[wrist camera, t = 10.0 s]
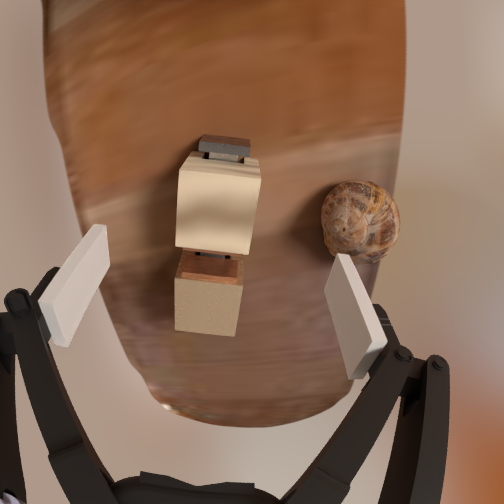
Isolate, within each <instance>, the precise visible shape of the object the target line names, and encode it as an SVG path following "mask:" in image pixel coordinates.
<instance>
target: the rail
mask: <svg viewBox="0 0 504 504" xmlns="http://www.w3.org/2000/svg"><path fill="white" fill-rule="evenodd" d="M198 151H203V152H210V153H209V160H217V161H226V162H234V163H238V156H246V157H249V153H250V140H248V139H241V138H233V137H224V136H215V135H205V134H204V135H203V137H202V138H201V140H200V141H199V150H198ZM242 290H243V254H241V257H240V256H231V255H230V259H225V255H222V254H214V253H205V252H200V256H197V255H196V251H188V250H183V252H182V255H181V259H180V262H179V265H178V269H177V272H176V276H175V330H180V331H188V332H196V333H205V334H214V335H223V336H234V337H235V331H236V325H237V319H238V313H239V307H240V301H241V296H242Z"/></svg>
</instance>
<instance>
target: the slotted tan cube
mask: <svg viewBox="0 0 504 504" xmlns="http://www.w3.org/2000/svg"><path fill="white" fill-rule="evenodd" d="M204 158H205V152H198V151H192V152H191V153H190V155H189V156H188V157H187V159H186V160H185V162H184V163H183V165H182V166H181V168H180V169H179V181H178V197H177V217H176V243H175V246H177V247H183V250H188V251H196V252H205V253H214V254H222V255H231V256H240V257H241V254H246V255H248V254H249V248H250V242H251V236H252V230H253V225H254V219H255V213H256V207H257V201H258V196H259V190H260V184H261V175H260V169H259V163H258V159H256V158H249V157H244V163H243V164H242V163H234V162H226V161H217V160H208V159H204Z"/></svg>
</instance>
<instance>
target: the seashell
mask: <svg viewBox="0 0 504 504" xmlns="http://www.w3.org/2000/svg"><path fill="white" fill-rule="evenodd" d="M321 225H322V227H323V230H324V233H323V234H324V239H325V245H326V246H327V248H328V250H329V252H330V253H331V254H332V255H333V256H335V257H336V255H337V253H339V254H347V255H349V256H350V258H351V260H352V262H353V264H354V265H366V264H371V263H374V262H376V261H378V260H380V259H382V258H383V257H384V256H386V255H387V254H388V253H389V251H390V250H391V249H392V248H393V246H394V244H395V243H396V240H397V237H398V234H399V230H400V217H399V212H398V208H397V205H396V203H395V201H394V199H393V198H392V196H391V195H390V194H389V193H388V192H387V191H386V190H384V189H383V188H381V187H379V186H378V185H376V184H375V183H372V182H366V181H361V180H349V181H345V182H343V183H341V184H339V185H337V186H336V187H335V188H334V189H333V190H331V191H330V192H329V194H328V195H327V197H326V198H325V200H324V202H323V205H322V210H321Z"/></svg>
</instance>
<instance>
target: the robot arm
mask: <svg viewBox="0 0 504 504" xmlns="http://www.w3.org/2000/svg"><path fill="white" fill-rule="evenodd" d="M109 267H110V259H109V251H108V241H107V231H106V225H99V224H94V225H93V226H92V227H91V229H90V230H89V231H88V232H87V234H86V235H85V236H84V237H83V239H82V240H81V241H80V243H79V244H78V245H77V247H76V248H75V249H74V250H73V252H72V253H71V254H70V256H69V257H68V258H67V260H66V261H65V263H64V264H63V265H62V267H61V268H59V267H54V268H52V269H51V270H49V271H48V272H47V273H46V275H45V276H44V277H43V278H42V280H41V281H40V283H39V285H37V287H36V288H35V290H34V291H33V293H32V294H31V295H29V293H28V291H27V290H25V289H22V288H18V289H14V290H12V291H10V292H9V293H8V294H7V295H6V297H5V298H4V304H5V306H6V309H7V311H8V312H2V313H0V504H27V501H26V489H25V482H24V477H23V471H22V465H21V458H20V452H19V443H18V434H17V423H16V406H15V354H17V355H18V360H19V364H20V368H21V372H22V376H23V379H24V383H25V386H26V390H27V393H28V396H29V399H30V402H31V405H32V409H33V411H34V414H35V417H36V420H37V423H38V426H39V428H40V431H41V433H42V436H43V438H44V441H45V443H46V446H47V448H48V451H49V455H48V458H49V461H50V464H51V466H52V469H53V471H54V473H55V475H56V477H57V479H58V481H59V483H60V485H61V487H62V489H63V491H64V493H65V495H66V497H67V498H68V500H69V502H70V504H341V503H342V501H343V500H344V498H345V497H346V495H347V494H348V492H349V490H350V483H351V481H352V480H353V478H354V477H355V475H356V474H357V472H358V470H359V469H360V467H361V465H362V464H363V462H364V461H365V459H366V457H367V455H368V454H369V452H370V450H371V448H372V447H373V445H374V443H375V441H376V440H377V437H378V436H379V434H380V432H381V430H382V428H383V427H384V425H385V423H386V421H387V419H388V417H389V414H390V413H391V411H392V409H393V407H394V405H395V402H396V401H397V399H398V396H401V402H400V409H399V415H398V420H397V426H396V431H395V436H394V442H393V446H392V451H391V456H390V460H389V464H388V468H387V472H386V476H385V480H384V484H383V487H382V491H381V494H380V498H379V501H378V504H440V500H441V494H442V487H443V480H444V474H445V465H446V455H447V446H448V432H449V409H450V403H449V402H450V378H449V377H450V375H449V365H448V363H447V362H446V360H445V359H444V358H442V357H441V356H439V355H431V356H430V357H429V358H428V359H427V360H426V361H425V360H421V359H418V358H414V357H413V354H412V353H411V351H410V350H409V349H407V348H406V347H404V346H402V345H400V343H399V341H398V338H397V336H396V334H395V332H394V329H393V327H392V326H391V323H390V320H388V316H387V314H386V312H385V310H384V309H383V308H382V307H381V306H380V305H379V304H372V303H371V301H370V299H369V296H368V294H367V292H366V290H365V288H364V285H363V283H362V281H361V279H360V277H359V275H358V272H357V270H356V268H355V266H354V264H353V262H352V260H351V258H350V256H349V255H347V254H339V253H337V255H336V258H335V260H334V263H333V266H332V269H331V272H330V275H329V277H328V280H327V283H326V286H325V288H324V293H325V297H326V300H327V303H328V307H329V310H330V313H331V317H332V320H333V324H334V327H335V331H336V334H337V338H338V341H339V345H340V349H341V352H342V356H343V360H344V363H345V367H346V371H347V375H348V379H363V378H364V377H365V375H366V373H367V372H368V373H369V376H370V379H369V380H368V382H367V383H366V385H365V386H364V387H363V389H362V390H361V391H362V392H361V393H360V395H359V396H358V398H357V400H356V401H355V403H354V404H353V406H352V407H351V409H350V410H349V412H348V413H347V415H346V416H345V418H344V419H343V421H342V422H341V424H340V425H339V427H338V428H337V430H336V431H335V432H334V434H333V435H332V437H331V438H330V439H329V441H328V442H327V444H326V445H325V446H324V448H323V449H322V450H321V452H320V453H319V454H318V456H317V457H316V458H315V460H314V461H313V462H312V463H311V465H310V466H309V467H308V469H307V470H306V471H305V472H304V474H303V475H302V476H301V477H300V478H299V480H298V481H297V482H296V483H295V484H294V485H293V486H292V487H291V489H290V490H289V491H288V492H287V493H286V494H285V495H284V496H283V497H282V498H281V499H280V500H279V499H278V498H276V497H275V496H273V495H271V494H269V493H267V492H265V491H263V490H260V489H256V488H254V483H236V482H224V483H218V484H210V485H203V486H194V485H191V484H189V483H186V482H183V481H180V480H177V479H175V478H172V477H170V476H166V475H159V474H153V473H148V472H143V471H141V472H140V476H134V477H128V478H125V479H122V480H119V481H117V482H114V480H113V479H112V477H111V476H110V474H109V473H108V471H107V470H106V468H105V467H104V465H103V464H102V462H101V460H100V459H99V457H98V455H97V453H96V452H95V450H94V448H93V446H92V444H91V442H90V440H89V438H88V436H87V435H86V432H85V430H84V428H83V426H82V425H81V422H80V420H79V418H78V416H77V414H76V412H75V410H74V407H73V405H72V403H71V401H70V398H69V396H68V394H67V391H66V389H65V386H64V384H63V381H62V379H61V377H60V374H59V371H58V369H57V366H56V363H55V360H54V358H53V355H52V352H51V349H50V346H49V344H48V341H49V339H50V337H52V340H53V342H54V344H55V345H59V346H63V347H66V348H68V346H69V344H70V342H71V340H72V338H73V335H74V334H75V331H76V329H77V327H78V325H79V323H80V321H81V319H82V317H83V315H84V313H85V311H86V309H87V307H88V305H89V303H90V301H91V299H92V298H93V295H94V294H95V292H96V290H97V288H98V286H99V285H100V283H101V281H102V279H103V277H104V275H105V274H106V272H107V270H108V268H109Z"/></svg>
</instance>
